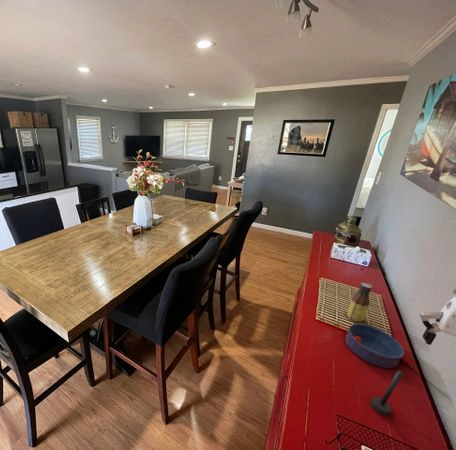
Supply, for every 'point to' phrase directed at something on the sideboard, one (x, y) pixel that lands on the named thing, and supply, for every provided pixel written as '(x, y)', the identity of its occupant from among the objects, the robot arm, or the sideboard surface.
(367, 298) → the sauce bottle
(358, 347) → the bowl
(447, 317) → the robot arm
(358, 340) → the tomato
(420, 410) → the sideboard surface
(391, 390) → the dark grey rod
